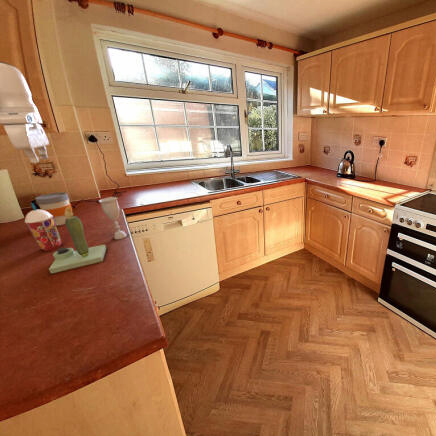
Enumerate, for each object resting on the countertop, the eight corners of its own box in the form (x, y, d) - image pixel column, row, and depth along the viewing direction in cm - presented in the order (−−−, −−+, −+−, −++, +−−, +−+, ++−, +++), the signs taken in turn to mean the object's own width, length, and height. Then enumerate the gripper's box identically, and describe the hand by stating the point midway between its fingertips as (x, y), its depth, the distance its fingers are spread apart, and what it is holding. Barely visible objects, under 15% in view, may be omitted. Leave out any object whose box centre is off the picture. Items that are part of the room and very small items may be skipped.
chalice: (110, 236, 113) (98, 199, 106) (127, 231, 117) (116, 196, 110) (112, 241, 108) (99, 203, 101) (130, 236, 112) (118, 199, 105)
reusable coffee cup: (78, 216, 140) (68, 190, 134) (76, 222, 130) (65, 195, 125) (49, 221, 133) (37, 195, 127) (45, 229, 124) (32, 201, 118)
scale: (49, 274, 86) (45, 265, 84) (59, 258, 96) (55, 250, 94) (102, 261, 93) (99, 253, 91) (106, 247, 103) (103, 240, 101)
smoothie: (69, 244, 106) (50, 201, 99) (45, 254, 99) (22, 208, 92) (59, 241, 109) (40, 199, 102) (35, 250, 103) (12, 205, 95)
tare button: (57, 255, 92) (55, 251, 91) (59, 252, 94) (58, 248, 93) (67, 253, 93) (66, 249, 92) (69, 249, 95) (68, 246, 95)
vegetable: (77, 256, 93) (56, 207, 85) (91, 251, 96) (72, 203, 88) (81, 259, 90) (60, 209, 83) (95, 254, 94) (76, 205, 86)
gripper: (22, 119, 87) (38, 158, 92) (-6, 118, 71) (16, 165, 76) (45, 118, 90) (60, 156, 95) (23, 117, 73) (43, 163, 79)
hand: (40, 160), depth 85 cm, fingers open, 8 cm apart
